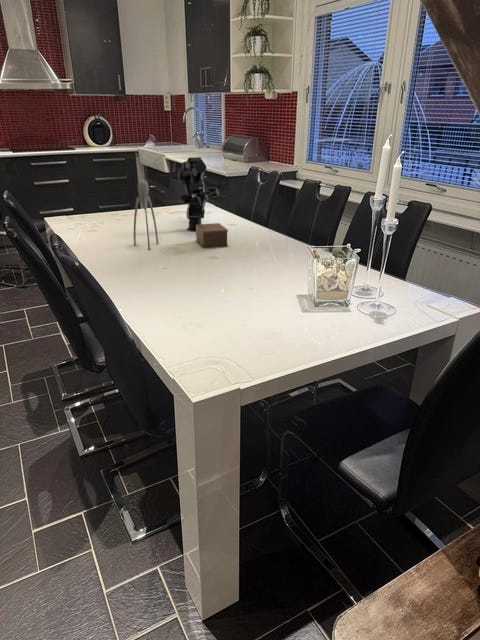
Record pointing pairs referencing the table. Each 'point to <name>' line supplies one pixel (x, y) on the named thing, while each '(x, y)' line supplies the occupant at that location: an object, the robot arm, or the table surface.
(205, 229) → the door
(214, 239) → the walnut box
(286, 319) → the table surface
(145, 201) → the grey three-legged stand fixture
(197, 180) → the robot arm
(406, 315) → the table surface
